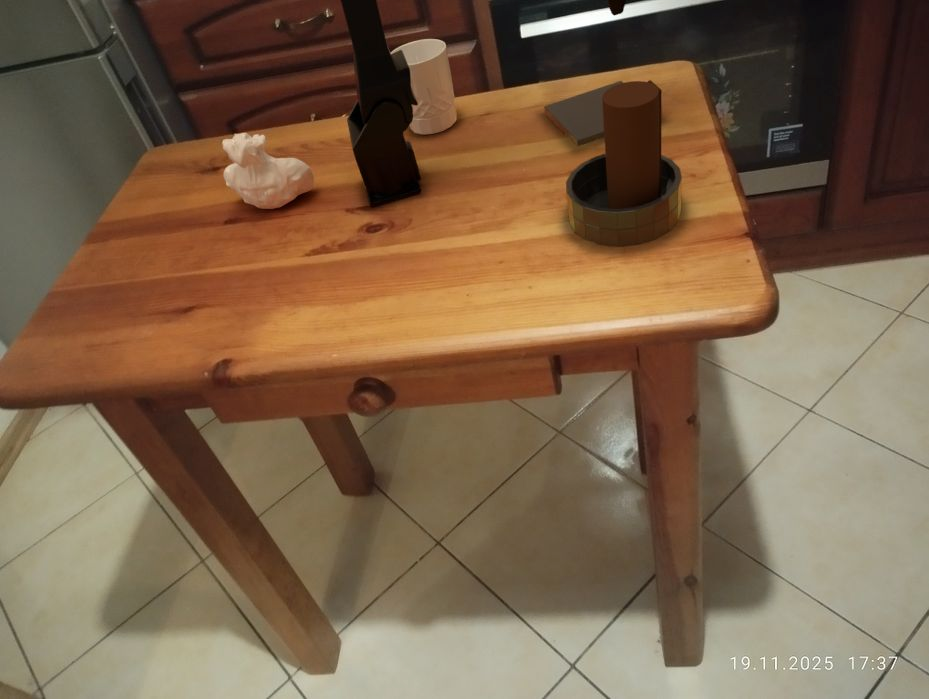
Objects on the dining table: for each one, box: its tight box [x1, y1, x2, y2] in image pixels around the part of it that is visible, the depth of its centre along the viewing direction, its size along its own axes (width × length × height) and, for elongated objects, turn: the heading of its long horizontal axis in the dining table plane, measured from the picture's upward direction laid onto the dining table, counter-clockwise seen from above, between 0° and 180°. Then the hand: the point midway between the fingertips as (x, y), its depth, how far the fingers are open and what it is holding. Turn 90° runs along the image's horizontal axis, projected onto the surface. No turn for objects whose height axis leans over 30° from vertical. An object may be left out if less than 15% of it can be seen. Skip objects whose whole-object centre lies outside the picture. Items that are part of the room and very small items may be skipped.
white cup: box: [390, 38, 458, 136], centre depth 91 cm, size 8×8×10 cm
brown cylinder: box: [602, 79, 662, 209], centre depth 65 cm, size 5×5×13 cm
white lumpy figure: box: [221, 132, 315, 210], centre depth 84 cm, size 12×8×11 cm
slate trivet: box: [543, 80, 624, 147], centre depth 86 cm, size 11×11×1 cm
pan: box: [565, 153, 683, 247], centre depth 69 cm, size 11×11×4 cm
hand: (602, 1), depth 74 cm, fingers open, 9 cm apart
